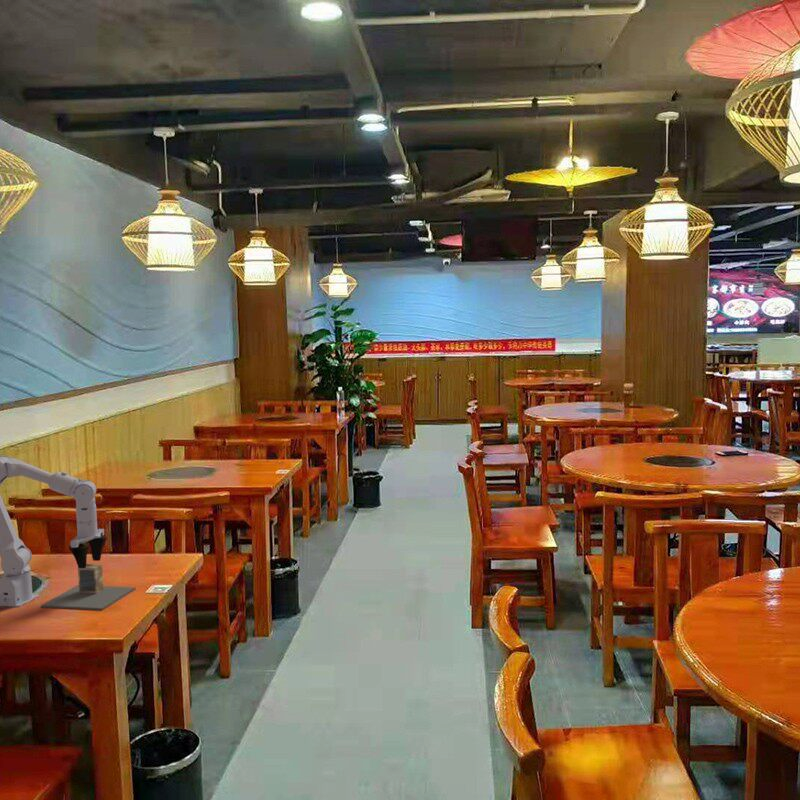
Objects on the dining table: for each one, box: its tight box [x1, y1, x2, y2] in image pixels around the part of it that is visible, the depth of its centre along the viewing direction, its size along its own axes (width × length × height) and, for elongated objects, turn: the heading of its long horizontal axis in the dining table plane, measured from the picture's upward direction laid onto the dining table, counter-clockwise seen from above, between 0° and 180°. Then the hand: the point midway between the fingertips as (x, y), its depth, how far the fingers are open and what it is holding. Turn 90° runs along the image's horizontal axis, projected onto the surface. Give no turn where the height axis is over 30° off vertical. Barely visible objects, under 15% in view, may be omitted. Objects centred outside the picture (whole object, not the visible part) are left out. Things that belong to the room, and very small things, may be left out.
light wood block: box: [77, 563, 104, 594], centre depth 233 cm, size 4×6×8 cm, turn 78°
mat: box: [40, 584, 136, 611], centre depth 229 cm, size 18×20×1 cm
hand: (89, 564), depth 232 cm, fingers open, 7 cm apart
